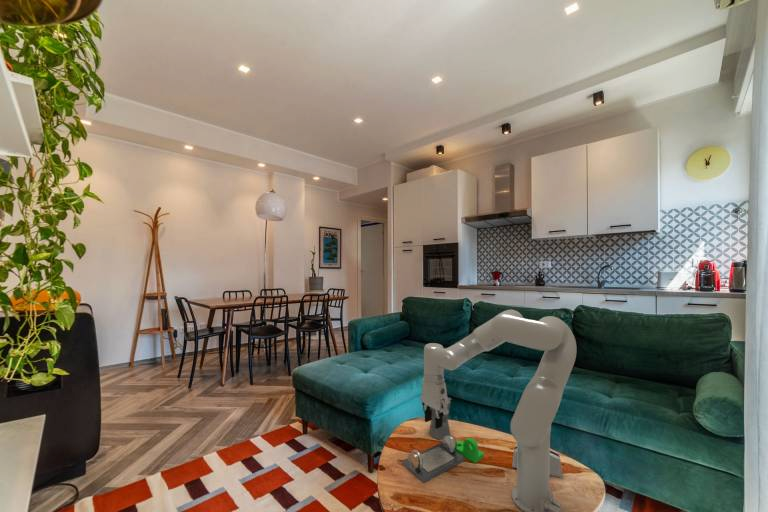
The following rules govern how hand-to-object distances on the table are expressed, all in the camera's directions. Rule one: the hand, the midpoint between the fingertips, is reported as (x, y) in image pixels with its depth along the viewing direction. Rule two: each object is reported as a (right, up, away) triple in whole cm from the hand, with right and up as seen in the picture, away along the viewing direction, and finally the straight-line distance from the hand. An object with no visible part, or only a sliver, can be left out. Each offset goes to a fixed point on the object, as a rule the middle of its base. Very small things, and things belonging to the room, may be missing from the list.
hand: (433, 423), depth 124 cm
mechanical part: (+14, -16, +6) cm, 22 cm away
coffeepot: (+5, -15, +19) cm, 25 cm away
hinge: (+37, -16, -4) cm, 41 cm away
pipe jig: (0, -15, 0) cm, 15 cm away
